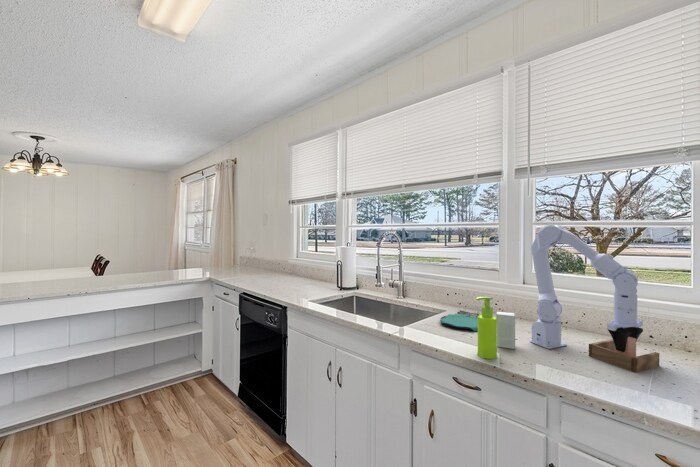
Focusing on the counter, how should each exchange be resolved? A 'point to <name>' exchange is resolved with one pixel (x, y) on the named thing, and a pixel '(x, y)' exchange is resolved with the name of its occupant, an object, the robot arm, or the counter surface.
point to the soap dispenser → (487, 330)
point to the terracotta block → (629, 347)
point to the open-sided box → (622, 357)
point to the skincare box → (506, 330)
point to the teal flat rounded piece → (462, 320)
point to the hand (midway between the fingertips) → (624, 349)
